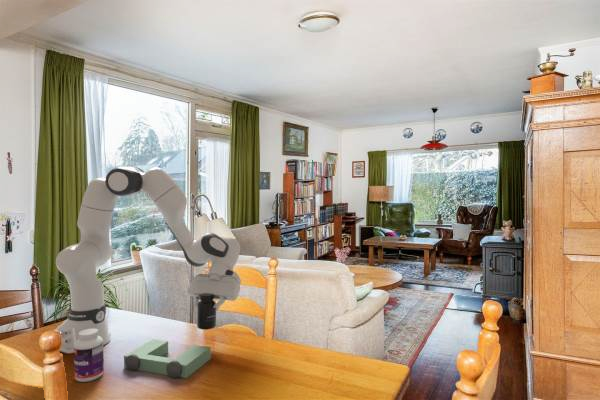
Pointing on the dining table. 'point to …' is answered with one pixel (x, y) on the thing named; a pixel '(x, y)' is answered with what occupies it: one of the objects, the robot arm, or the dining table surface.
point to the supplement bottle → (206, 312)
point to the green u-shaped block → (166, 359)
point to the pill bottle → (88, 356)
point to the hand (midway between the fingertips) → (205, 308)
